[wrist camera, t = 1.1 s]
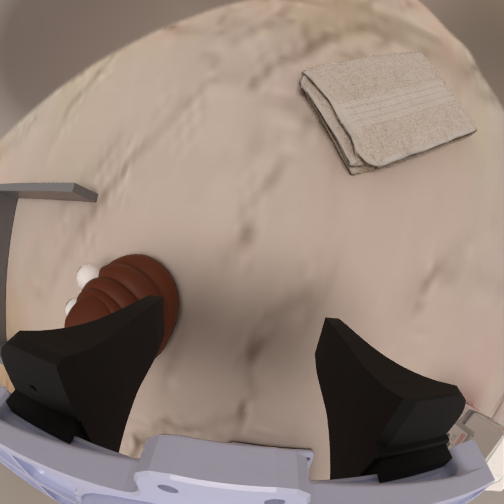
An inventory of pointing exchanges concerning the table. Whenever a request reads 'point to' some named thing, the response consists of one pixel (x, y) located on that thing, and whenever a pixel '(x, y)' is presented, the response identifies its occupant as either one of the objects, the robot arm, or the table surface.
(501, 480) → the ink box
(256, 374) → the table surface
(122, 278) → the poop emoji
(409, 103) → the washcloth
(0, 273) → the bin
